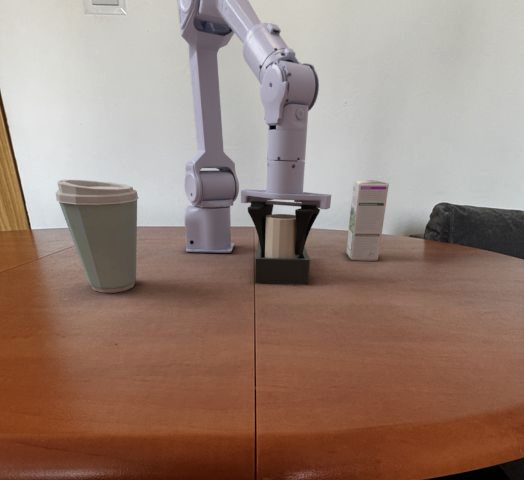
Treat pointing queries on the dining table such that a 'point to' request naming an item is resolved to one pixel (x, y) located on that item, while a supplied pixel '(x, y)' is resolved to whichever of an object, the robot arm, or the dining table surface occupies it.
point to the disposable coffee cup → (102, 230)
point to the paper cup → (280, 236)
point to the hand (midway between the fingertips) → (282, 251)
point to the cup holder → (281, 268)
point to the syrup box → (366, 219)
